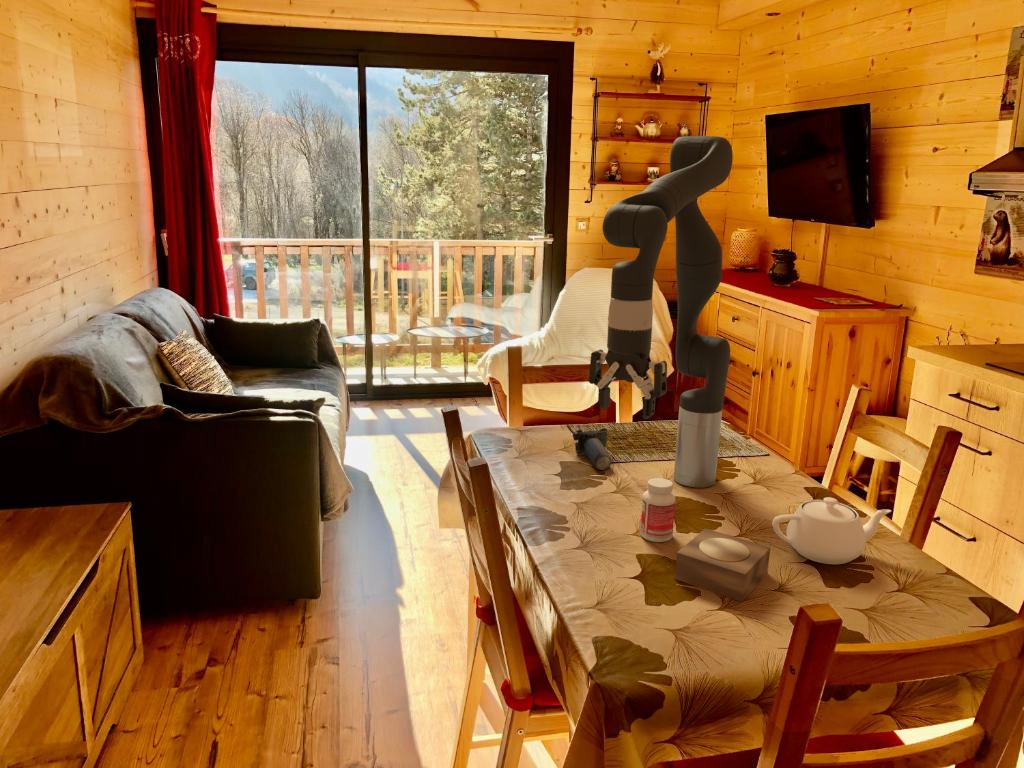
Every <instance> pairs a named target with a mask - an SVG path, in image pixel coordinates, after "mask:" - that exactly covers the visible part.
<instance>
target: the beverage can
mask: <svg viewBox="0 0 1024 768" xmlns="http://www.w3.org/2000/svg"><path fill="white" fill-rule="evenodd" d="M608 436H609V433H608V429H607V428H605V427H603V428H600V429H599V430H586V431H583V430H582V429H577V430H576V432H573V433H572V438H573V441H575V442H574V447H575V454H576V455H577V456H587V457H588V458H589V460H590V461H591V463H592V464H593V466H594V468H595V469H598V470H600V471H605V470H608V469H609V468H610V467H611V464H612V462H613V458H612V455H611V454H610V453H609V451H608V450H607V449H606V447H607V445H608V444H607V443H608Z"/></svg>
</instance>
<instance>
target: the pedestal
mask: <svg viewBox="0 0 1024 768" xmlns="http://www.w3.org/2000/svg"><path fill="white" fill-rule="evenodd" d="M770 554H771V547H770V546H767V545H763V544H760V543H756V542H753V541H749V540H746V539H743V538H739V537H736V536H732V535H729V534H727V533H726V534H725V533H724V532H719V531H715V530H712V529H710V528H709V529H708V528H704V529H703V530H702V531H700V532H699V533H698V534H697V535H695V536H694V538H692V539H691V540H690V541H689V542H687V543H686V544H685V545H684V546H682V547H681V548H680V549H679V550H678V551H676V557H675V558H676V559H675V571H674V580H677V581H680V582H683V583H686V584H689V585H692V586H694V587H698V588H700V589H703V590H706V591H710V592H711V593H716V594H718V595H721V596H724V597H725V598H729V599H733V600H736V601H738V602H743V601H745V599H746V598H747V597H748V596H749V595H750V594H751V593H752V591H753V590H755V588H756V587H757V586H758V585H759V584H760V582H762V580H763V579H764V578H765V577H766V576H767V575H768V571H769V564H770V563H769V562H770Z"/></svg>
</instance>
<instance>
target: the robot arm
mask: <svg viewBox="0 0 1024 768" xmlns="http://www.w3.org/2000/svg"><path fill="white" fill-rule="evenodd" d="M733 154H734V153H733V148H732V145H731V143H730V141H729V140H728V139H727V138H725V137H722V136H717V135H713V136H711V135H707V136H706V135H693V136H692V135H686V136H679V137H677V138H676V139H675V140H674V141H673V144H672V145H671V149H670V155H669V171H670V172H669V173H667V174H664V175H662V176H660V177H659V178H656V179H655V180H653V182H651V183H650V184H649V185H648V186H647V187H645V188H644V189H643V191H642V192H638V193H636V194H633V195H631V196H628V197H627V198H623V199H621V200H619V201H617V202H616V203H615V204H613V205H612V206H611V207H609V209H608V210H607V212H606V214H604V217H603V221H602V226H601V227H602V229H601V230H602V234H603V237H604V238H605V240H606V241H607V242H608V243H609V244H610V245H612V246H614V247H618V248H629V249H639V251H638V253H637V256H636V258H635V259H633V260H625V261H620V262H617V263H616V264H614V266H613V267H612V271H611V282H610V283H611V284H610V285H611V286H610V302H609V306H608V307H609V308H608V316H607V339H606V344H607V345H606V348H607V352H605V351H604V350H603V349H597V350H594V351H592V352H591V354H590V360H589V361H590V364H589V374H588V382H589V384H590V385H591V384H592V385H594V386H596V387H597V389H598V395H597V396H598V397H597V403H598V406H599V407H600V409H601V410H607V409H609V408H610V405H611V404H610V403H611V387H609V386H610V385H611V384H612V382H614V380H615V379H616V380H617V381H625V382H628V383H631V384H633V383H634V384H635V385H636V387H637V388H638V389H640V391H641V393H642V395H643V396H644V398H643V400H642V419H644V420H648V419H650V418H651V417H652V416H654V414H655V412H656V399H658V398H660V397H662V396H664V395H666V394H667V392H668V362H667V361H666V360H661V361H655V360H652V359H651V356H650V354H651V350H652V336H653V335H652V333H653V318H654V317H653V316H654V308H653V307H654V306H653V292H654V278H655V277H654V276H655V273H656V272H655V271H656V268H657V263H658V261H659V256H660V253H661V250H662V248H663V245H664V242H665V240H666V236H667V233H668V229H669V227H668V226H669V225H668V224H669V223H670V222H671V221H672V220H673V219H674V220H675V221H674V225H675V276H676V290H677V291H676V292H677V294H676V295H677V296H676V297H677V320H676V321H677V324H676V338H675V339H676V341H675V364H676V368H677V371H678V372H679V373H680V374H682V375H684V376H689V377H694V378H702V379H706V382H705V386H703V387H700V388H694V389H687V390H686V391H683V392H682V393H681V394H680V396H679V408H678V421H677V422H678V423H677V432H676V444H675V445H676V446H675V457H674V467H673V469H674V470H673V480H674V481H675V482H676V483H677V484H680V485H682V486H684V487H685V486H686V487H688V488H689V487H690V488H698V489H699V488H703V489H704V488H709V487H711V486H713V485H715V484H716V479H717V467H718V459H719V458H718V457H719V448H720V437H721V436H720V435H721V429H722V428H721V426H722V425H721V424H722V415H723V408H724V407H723V406H724V400H725V396H726V395H725V394H726V389H727V388H726V387H727V381H728V373H729V366H730V359H731V345H730V342H729V340H727V339H726V338H723V337H721V336H719V337H718V336H712V335H711V336H710V335H705V334H698V331H697V327H698V320H699V318H700V315H701V313H702V311H703V309H704V308H705V307H706V305H707V304H708V302H709V300H710V299H711V298H712V297H713V295H714V294H715V292H716V291H717V289H718V288H719V286H720V284H721V281H722V277H723V250H722V249H723V248H722V246H721V243H720V241H719V238H718V237H717V236H716V233H715V231H714V230H713V228H712V226H711V225H710V224H709V223H708V221H707V220H706V218H705V217H704V215H703V213H702V211H701V209H700V207H699V204H698V200H697V199H698V198H699V197H701V196H703V195H705V194H707V192H708V193H709V192H710V191H711V190H714V189H715V188H717V187H719V186H721V185H722V184H724V183H725V181H727V179H728V177H729V176H730V174H731V171H732V167H733V160H734V159H733V158H734V155H733ZM605 362H606V364H607V366H608V367H609V368H608V370H607V371H606V372H605V373H604V374H603V365H604V363H605ZM649 370H651V373H652V374H653V380H652V377H651V375H650V374H649V372H648V371H649ZM602 375H603V376H602Z"/></svg>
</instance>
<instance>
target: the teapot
mask: <svg viewBox="0 0 1024 768" xmlns="http://www.w3.org/2000/svg"><path fill="white" fill-rule="evenodd" d="M891 512H892V510H891V509H879V510H877V511H875V513H874V514H873V515H872V516H871V518H870V519H869V520H868V521H867V522H866V523H865V524H863V523H862V519H861V517H860V515H859V513H858V512H857V511H856V510H854V508H852V507H851V506H849V505H846V504H844V503H841V502H839V501H838V499H836V498H833V497H831V496H829V497H823V499H809V500H806V501H804V502H802V503H800V505H799V506H798V508H797V509H796V510H795V512H794V513H788V514H779V515H776V516H774V518H773V519H772V528H773V530H774V532H775V534H776V535H777V536H778V537H780V538H781V539H782V541H785V542H786V543H789V544H790V546H791V547H792V548H794V549H795V550H796V552H797V553H798V555H801V556H802V557H804V558H806V559H808V560H809V561H810V560H811V561H813V562H817V563H820V564H826V565H843V564H847V563H849V562H851V561H853V560H855V559H857V558H858V557H860V556H861V555H862V554H863V553H864V551H865V550H866V543H867V542H868V541H870V540H871V539H872V538H873V537H874V535H875V534H876V532H877V529H878V527H879V525H880V522H881V520H882V518H883V517H884V516H885V515H887V514H889V513H891ZM783 521H788V524H787V527H786V530H785V531H786V532H785V533H786V535H785V534H784V533H783V532H782V531H781V529H780V523H781V522H783Z"/></svg>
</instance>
